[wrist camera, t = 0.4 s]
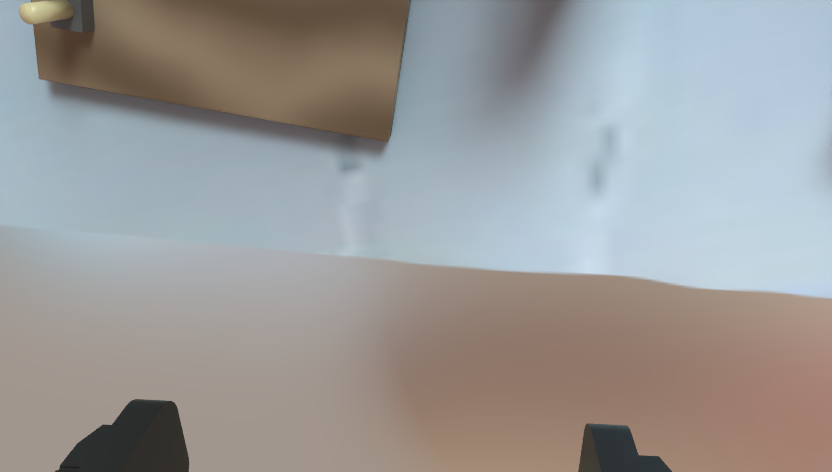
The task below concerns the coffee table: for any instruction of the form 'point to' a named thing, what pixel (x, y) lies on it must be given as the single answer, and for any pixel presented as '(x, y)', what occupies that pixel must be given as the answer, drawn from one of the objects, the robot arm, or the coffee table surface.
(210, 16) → the walnut board
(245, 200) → the coffee table surface
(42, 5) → the pin header
